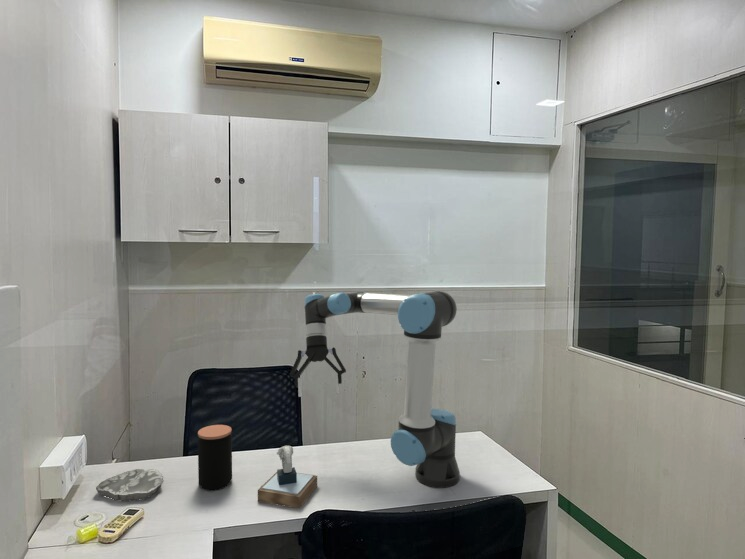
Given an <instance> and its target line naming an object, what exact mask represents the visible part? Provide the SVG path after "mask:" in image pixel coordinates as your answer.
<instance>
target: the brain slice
mask: <svg viewBox="0 0 745 559" xmlns="http://www.w3.org/2000/svg"><path fill="white" fill-rule="evenodd" d="M164 481H165V480H164V476H163V474H162V473H161V471H159V470H157V469H154V468H152V469H147V470H145V469H143V468H141V469H139V468H135V469H132V470H129V471H124V472H122V473H118V474H116V475H115V476H112V477H109V478H106V479H105V480H103V481H101V482H100V483H98V485H97V486H95V489H96V491H97V493H98V494H99V495H101V496H102V497H103V496H106V497H109V498H112V499H111V500H113V499H114V500H113V501H118V500H121V502H130V501H129V500H132V501H133V500H136V501H140V500H139V499H144V500H146V498H147V499H148V498H150V497H151V496H152V495H153V494H154V493H155V492H157V491H158V490H159V488H160V487H161V486H162V484H163V483H164ZM156 490H157V491H156ZM149 496H150V497H149ZM109 498H108V499H109Z"/></svg>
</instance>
